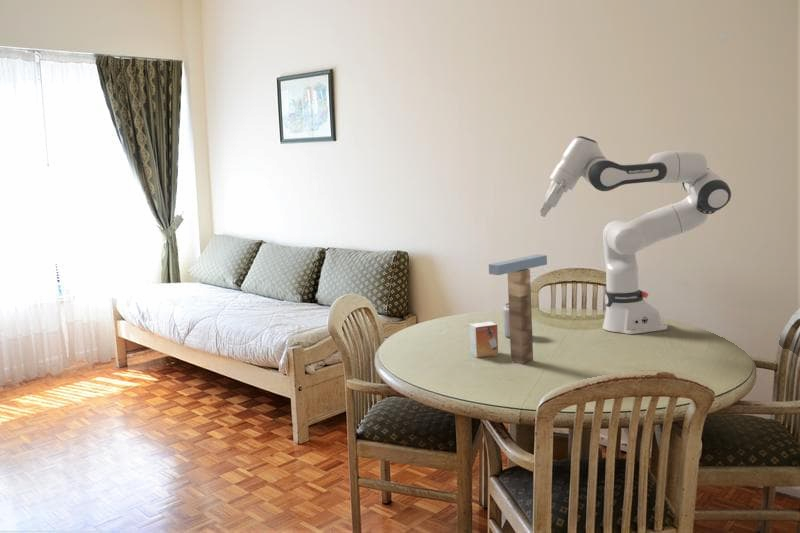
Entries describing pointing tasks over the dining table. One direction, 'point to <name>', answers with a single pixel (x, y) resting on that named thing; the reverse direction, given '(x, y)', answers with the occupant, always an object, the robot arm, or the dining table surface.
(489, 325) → the small box
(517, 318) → the stand
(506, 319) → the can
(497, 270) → the blue bar
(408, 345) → the dining table surface
